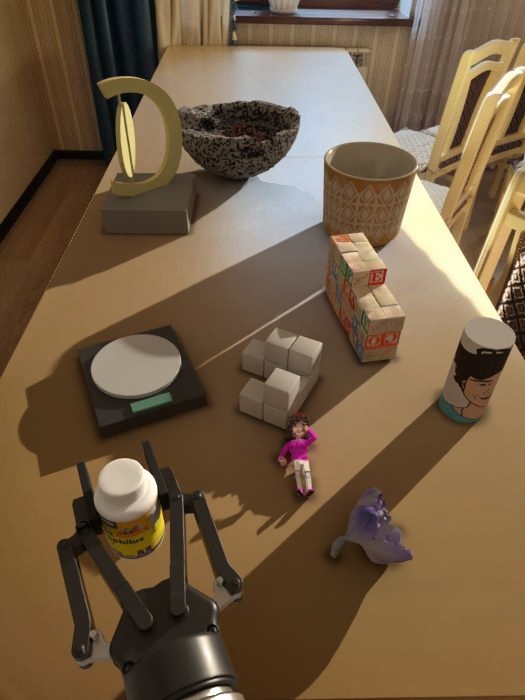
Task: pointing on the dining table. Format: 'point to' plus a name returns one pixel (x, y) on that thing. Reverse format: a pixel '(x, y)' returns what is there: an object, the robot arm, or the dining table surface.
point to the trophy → (147, 188)
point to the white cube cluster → (279, 375)
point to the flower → (373, 531)
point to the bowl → (238, 136)
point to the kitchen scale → (139, 379)
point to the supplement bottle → (129, 509)
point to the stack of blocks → (363, 297)
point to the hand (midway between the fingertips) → (115, 459)
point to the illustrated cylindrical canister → (476, 368)
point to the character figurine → (299, 449)
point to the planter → (367, 189)
